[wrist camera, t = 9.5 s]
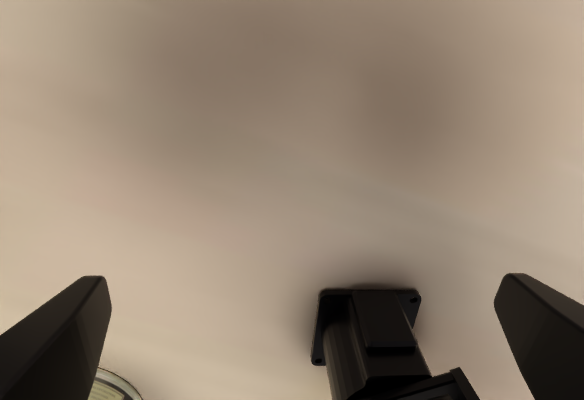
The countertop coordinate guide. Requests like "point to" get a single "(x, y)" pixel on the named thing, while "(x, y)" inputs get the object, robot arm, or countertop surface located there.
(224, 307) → the countertop surface
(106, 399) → the coffee can
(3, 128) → the countertop surface
